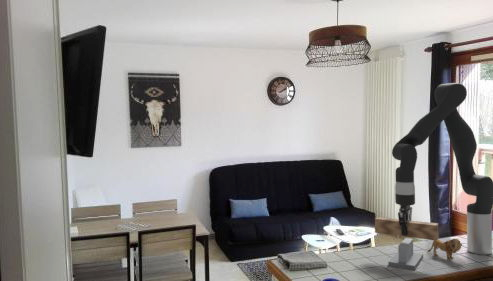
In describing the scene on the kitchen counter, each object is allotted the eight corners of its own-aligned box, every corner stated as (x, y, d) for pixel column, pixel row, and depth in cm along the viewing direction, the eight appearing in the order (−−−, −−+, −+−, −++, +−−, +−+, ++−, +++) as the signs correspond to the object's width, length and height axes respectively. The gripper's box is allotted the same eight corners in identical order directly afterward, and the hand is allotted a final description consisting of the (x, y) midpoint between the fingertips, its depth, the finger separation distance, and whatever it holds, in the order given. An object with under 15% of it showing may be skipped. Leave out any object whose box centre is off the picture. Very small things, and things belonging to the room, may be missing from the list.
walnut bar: (438, 238, 156) (438, 223, 156) (436, 240, 153) (436, 225, 153) (377, 230, 170) (377, 216, 170) (375, 232, 167) (374, 218, 167)
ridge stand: (398, 253, 172) (398, 235, 171) (423, 257, 166) (422, 238, 166) (388, 265, 159) (388, 245, 158) (414, 269, 153) (414, 249, 153)
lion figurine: (464, 260, 161) (464, 238, 161) (457, 263, 158) (457, 241, 158) (430, 251, 174) (430, 231, 173) (423, 253, 171) (423, 233, 170)
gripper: (410, 196, 153) (411, 239, 154) (418, 190, 165) (419, 230, 165) (390, 194, 157) (391, 237, 158) (399, 189, 169) (400, 228, 170)
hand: (405, 233), depth 162 cm, fingers closed on walnut bar, 3 cm apart
